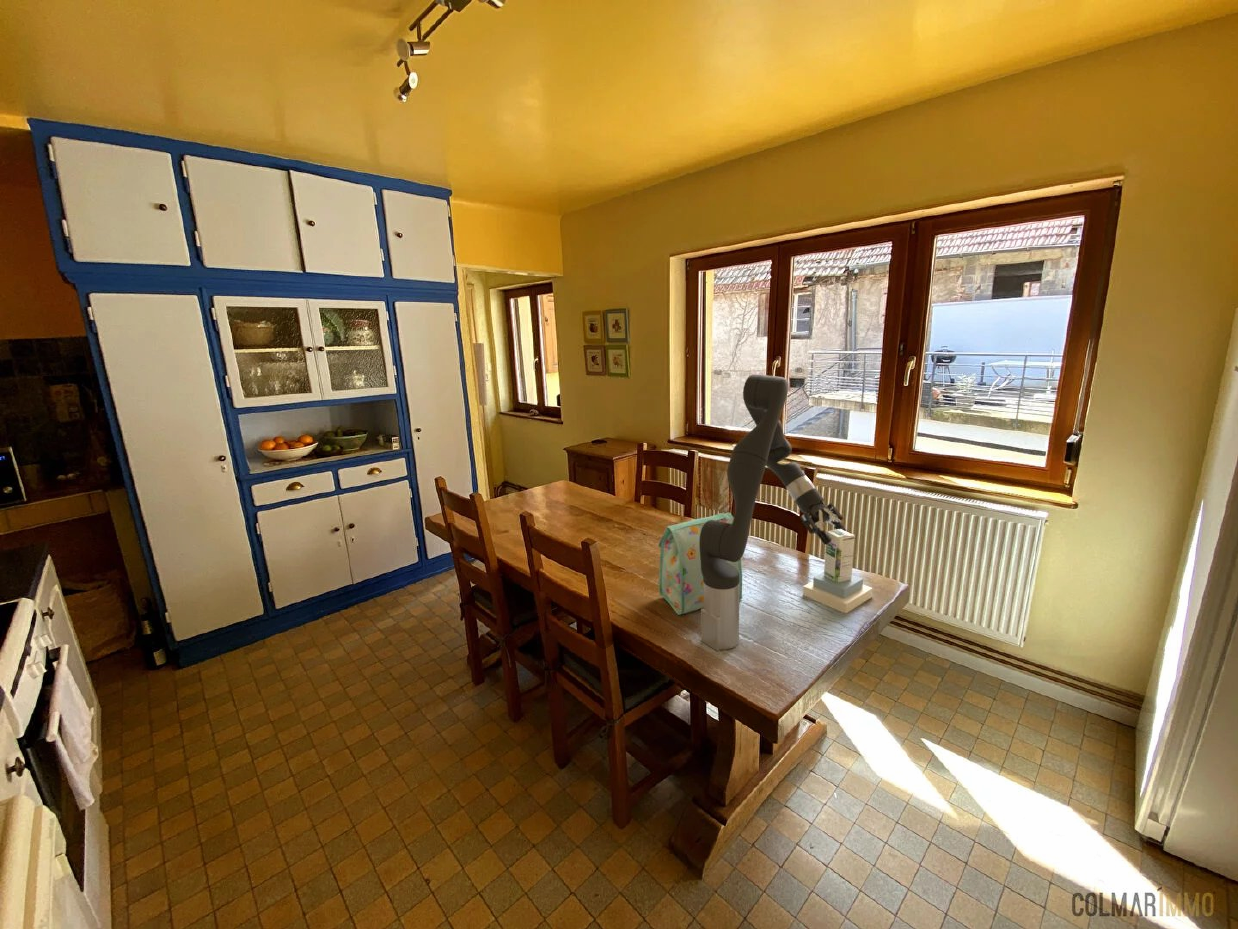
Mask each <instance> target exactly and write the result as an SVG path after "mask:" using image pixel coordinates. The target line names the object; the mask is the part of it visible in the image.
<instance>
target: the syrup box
mask: <svg viewBox="0 0 1238 929" xmlns="http://www.w3.org/2000/svg"><path fill="white" fill-rule="evenodd" d="M846 531H847V530H846ZM846 531H844V530H842V529H835V528H834V529H832V530H828V531H826V534H827V535H828V537H829V538H830V540H831V542H830V543H828V544H826V545H825V551H824V552H825V553H824V569H823V572H824V576H826V577H828V578H829V579H831V580H833V581H834V582H836V583H839V582H843V581H847V580H851V577H852V575H853V563H854V551H855V550H854V548H855V538H856V536H855V534H852V533H850V532H848V531H847V532H846Z"/></svg>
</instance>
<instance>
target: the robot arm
mask: <svg viewBox="0 0 1238 929" xmlns="http://www.w3.org/2000/svg"><path fill="white" fill-rule="evenodd" d="M788 392H789V382H788V380H787V378H785V377H782V376H775V375H765V374H752V375H749V376H748V377H747V378H746V380H745V382H744V384H743V390H742V398H743V402H744V405H745V407H746V409H747V411H748V413H749V415H750V417H751V418H752V420H753V421H754V423H755V427H754V428H753V429H752V430H750V431H749V432H748V433H747V434H746V435H744V436H743V437H742V438H741V439H740V440H739V441H738V442H737V443H736V445H735V446H734V448H733V449H732V452H731V455H730V457H729V458H730V459H729V462H728V465H727V469H726V476H727V480H728V481H727V482H728V485H729V488H730V490H731V494H732V497H733V500H734V516H733V518H734V519H733V523H732V524H730V523H725V522H720V521H715V520H709V521H707V522H706V523H705V524H704V525H703V527H702V529H701V532H700V539H699V547H700V561H701V572H702V575H703V607H704V608H700V631H701V632H700V638H701V639H700V641H701V642H703V643H704V644H706V645H707V646H709V647H711V648H712V649H713V650H715V651H721V650H722V651H723V650H730V649H733V648H736V647H737V645H738V644H739V643H740V600H739V572H738V570H737V569H736V568H735V567H734V566H732V565H731V564H729V563H728V562H727V561H731V562H737V561H739V560H740V559H741V560H742V557H743V556H744V553H745V551H746V548H747V544H748V540H749V536H750V535H749V534H750V529H751V524H752V519H753V514H754V509H755V505H756V500H757V497H758V494H759V490H760V487H761V484H762V480H763V476H764V473H765V470H766V467H767V468H768V470H771V471H772V473H774V475H776V476H777V477H778V478H779V480H780V481H781V483H782V484H783V485H784V486H785V489H786V490H787V492H788V494H789V495H790V497H791V499H792V500H793V501H794V503H795V504H796V506H797V507H798V508H799V510H800V511H801V512H802V513H803V514H802V515H801V516H800V517H799V518H800V520H801V522H802V523H803V525H804V527H805V528H806V530H807V531H808V533H809V534H810V535H813V534H815V535H817V537H818V538H819V539H820V542H822V543H823V545H825V546H826V544H828V543H830V542H831V540H830V538H829V537H828V535H827V531H825V529H824V528H823V525H824V523H827V524H830V525H832V526H833V527H834V530H835V529H842V530H844V531H846V532H848V531H847V530H846V528H845V527H844V525H843V524H842V520H844V517H843V516H842V514H841V513H840V512H839V511H838V509H837V508H836V507H835V505H834V504H833V503H831V502H830V503H829V504H827V505H826V504H824V501H825V500H824V497H823V496H822V494H821V493H820V492H819V490H818V489H817V487H816V486H815V485H814V483H813V482H812V480H810V479H809V478H808V476H807V475H806V474H805V473H804V470H802V468H801V467H800V465H799V464H798V463H797V462H794V461H793V462H789V463H784V464H781V463H779V462H781V461H782V460H784V459H786V458H788V457H789V456H790V455H791V454H792V450H793V448H792V446H791V443H790V442H789V441H788V440H787V439H786V437H785V434H784V429H783V424H782V422H781V420H780V418H781V415H782V412H783V410H784V407H785V404H786V401H787V396H788ZM726 560H727V561H726Z"/></svg>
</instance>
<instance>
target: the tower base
mask: <svg viewBox="0 0 1238 929" xmlns="http://www.w3.org/2000/svg"><path fill="white" fill-rule="evenodd" d="M802 589H803V590H802V596H805V597H807V598H808V599H811V600H814V601H816V602H818V603H820V604H823V605H825V606H828V607H830V608H832V609H834V610H837V611H839V612H841V613H843V614H848V613H849V612H851V611H852V610H854V609H855V608H857V607H859V606H860V605H862V604H863V603H865V602H866V601H868V600H870V599H871V598H873V587H871V586H868V585H865V584H864V578H862V577H859V576H857V575H854V574H852V577H851V580H847V581H843V582H839V583H836V582H834V581H833V580H831V579H829V578H828V577H826V576H824V571H823V572H821V573H819V574H817V575H816V576H814V577H813V580H812V581H810V582H809V583H808V582H807V583H806V584H805V585H803V588H802Z"/></svg>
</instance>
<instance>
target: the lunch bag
mask: <svg viewBox="0 0 1238 929" xmlns="http://www.w3.org/2000/svg"><path fill="white" fill-rule="evenodd" d="M733 519H734V516H733V515H732V514H731V513H730V512H726V513H725V512H724V513H722V512H719V513H717V514H715V515H711V516H707V517H700V518H695V519H692V520H689V521H684V522H679V523H676V524H673V525H668V526H666V528H665V530H664V533H663V534H662V536H661V538H660V540H659V542H658V544H657V546H658V547H659V548H660V553H659V572H658V593H659V596H660V597H662V598H663V599H664V600H666V602H667V603H668V604H669V605H670V606H671V608H672V609H673V611H674V612H675V614H677V615H678V616H680V615H683V614H688V613H691V612H694V611H697V610H701V609H702V608H704V607H703V575H702V572H701V561H700V547H699V539H700V532H701V529H702V527H703V525H704V524H705V523H706V522H707V521H709V520H715V521H720V522H725V523H730V524H732V523H733ZM726 561H727V560H726ZM727 562H728V563H729V564H731V565H732V566H734V567H735V568H736V569H737V570H738V572H739V601H742V599H743V568H742V566H743V565H742V558H741V559H740V560H739V561H737V562H731V561H727Z"/></svg>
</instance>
